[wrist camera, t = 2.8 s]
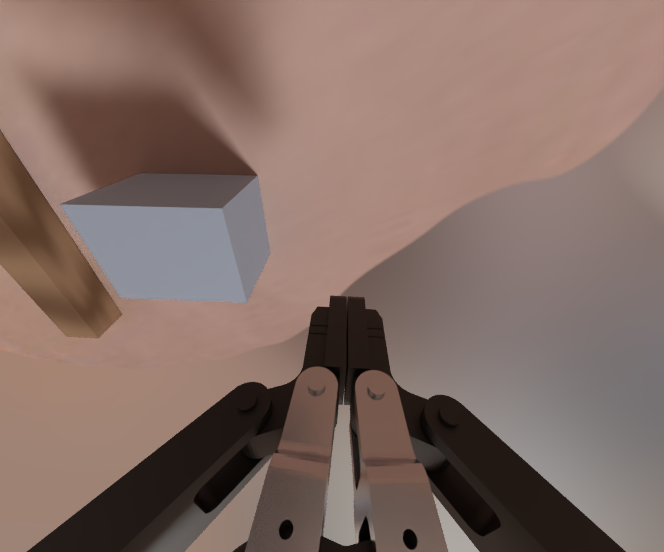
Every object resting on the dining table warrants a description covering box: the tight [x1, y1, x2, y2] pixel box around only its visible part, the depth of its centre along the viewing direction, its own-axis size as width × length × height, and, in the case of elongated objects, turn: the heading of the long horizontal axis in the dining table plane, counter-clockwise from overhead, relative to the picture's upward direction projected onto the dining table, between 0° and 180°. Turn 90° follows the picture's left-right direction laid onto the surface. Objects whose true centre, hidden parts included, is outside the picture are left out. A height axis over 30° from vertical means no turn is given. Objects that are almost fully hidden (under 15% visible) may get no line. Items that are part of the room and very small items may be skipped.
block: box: [59, 173, 270, 303], centre depth 16 cm, size 6×8×6 cm
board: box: [0, 131, 122, 338], centre depth 18 cm, size 22×3×3 cm, turn 179°
